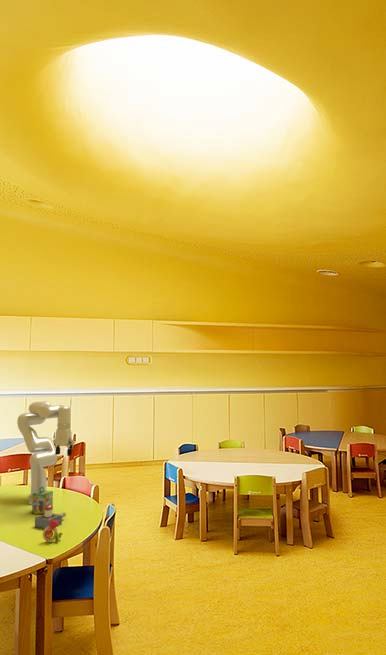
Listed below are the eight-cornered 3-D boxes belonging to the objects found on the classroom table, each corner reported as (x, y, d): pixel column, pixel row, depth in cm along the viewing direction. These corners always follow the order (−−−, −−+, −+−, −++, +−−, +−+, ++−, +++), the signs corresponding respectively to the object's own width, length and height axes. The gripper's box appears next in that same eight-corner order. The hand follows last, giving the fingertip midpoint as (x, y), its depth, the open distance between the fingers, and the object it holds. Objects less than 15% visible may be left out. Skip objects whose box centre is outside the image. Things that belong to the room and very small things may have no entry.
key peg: (48, 523, 251) (48, 504, 252) (54, 525, 249) (54, 505, 250) (42, 526, 247) (42, 506, 248) (48, 527, 245) (48, 507, 246)
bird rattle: (46, 549, 221) (64, 540, 223) (37, 528, 221) (55, 519, 223) (48, 544, 227) (65, 535, 229) (39, 524, 227) (56, 515, 229)
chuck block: (34, 527, 246) (34, 517, 247) (58, 518, 261) (58, 509, 261) (47, 530, 241) (47, 520, 242) (70, 520, 256) (70, 511, 257)
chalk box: (45, 514, 267) (45, 489, 269) (31, 514, 269) (31, 488, 270) (53, 510, 276) (53, 485, 278) (39, 509, 278) (40, 484, 279)
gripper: (49, 426, 279) (48, 454, 278) (69, 428, 271) (69, 457, 269) (58, 425, 286) (58, 452, 284) (78, 426, 278) (78, 454, 276)
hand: (63, 454), depth 277 cm, fingers open, 9 cm apart
